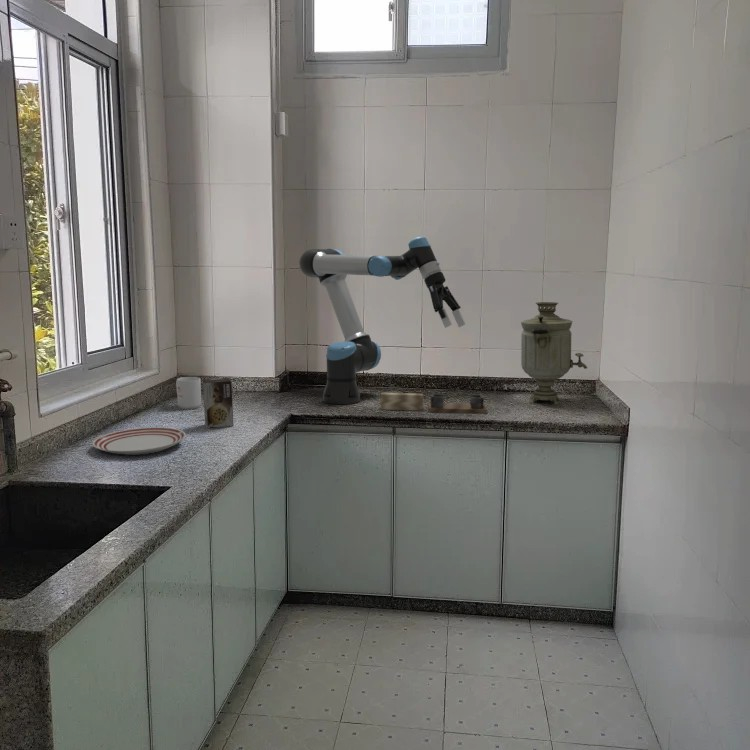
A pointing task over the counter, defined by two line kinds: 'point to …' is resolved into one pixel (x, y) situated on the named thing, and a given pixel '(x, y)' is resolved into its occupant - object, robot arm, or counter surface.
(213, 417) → the coffee box
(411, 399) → the slat
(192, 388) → the mug
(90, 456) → the counter surface
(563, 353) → the samovar
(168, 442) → the dinner plate
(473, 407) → the slat base
